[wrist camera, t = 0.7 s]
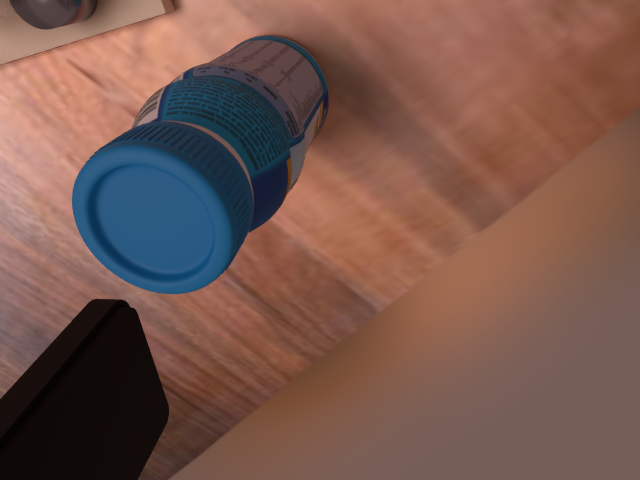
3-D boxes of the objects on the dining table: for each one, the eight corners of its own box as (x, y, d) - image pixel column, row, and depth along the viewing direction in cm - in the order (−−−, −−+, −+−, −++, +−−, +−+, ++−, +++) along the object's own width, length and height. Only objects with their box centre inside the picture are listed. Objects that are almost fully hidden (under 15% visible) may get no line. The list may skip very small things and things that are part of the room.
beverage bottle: (325, 25, 34) (230, 111, 17) (338, 146, 38) (273, 315, 21) (206, 38, 35) (9, 129, 18) (231, 153, 39) (89, 314, 22)
